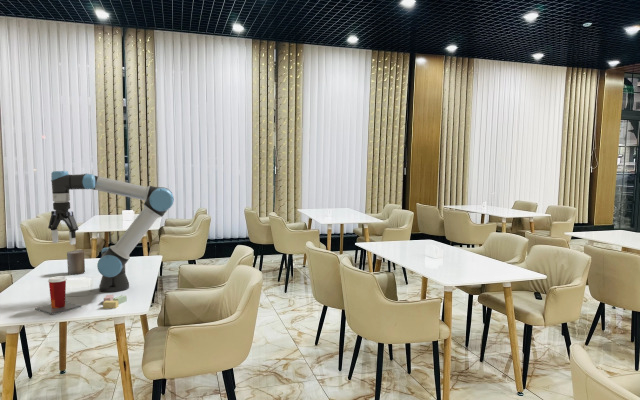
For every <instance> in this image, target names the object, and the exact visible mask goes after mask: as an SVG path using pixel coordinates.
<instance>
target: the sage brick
mask: <svg viewBox="0 0 640 400" xmlns="http://www.w3.org/2000/svg"><path fill="white" fill-rule="evenodd" d="M127 299H128V297H127V295H123V294H121V295H118V296H117V297H113V301H118V306H119V305H121V304H124V303H126V302H127Z"/></svg>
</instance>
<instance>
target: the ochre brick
mask: <svg viewBox="0 0 640 400" xmlns="http://www.w3.org/2000/svg"><path fill="white" fill-rule="evenodd" d="M118 307H119V305H118V301H104V300H103V302H102V309H117V308H118Z"/></svg>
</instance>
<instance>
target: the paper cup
mask: <svg viewBox="0 0 640 400" xmlns="http://www.w3.org/2000/svg"><path fill="white" fill-rule="evenodd" d="M66 281H67V278H66V276H64V275H57V276H52V277H49V278H48V280H47V282H48V286H49V296H50V304H51V306H52V308H62V307H64V306H65V301H66V289H67V286H66V284H67V282H66Z"/></svg>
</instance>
